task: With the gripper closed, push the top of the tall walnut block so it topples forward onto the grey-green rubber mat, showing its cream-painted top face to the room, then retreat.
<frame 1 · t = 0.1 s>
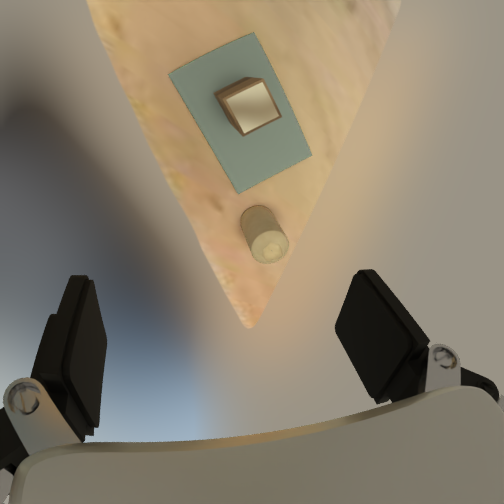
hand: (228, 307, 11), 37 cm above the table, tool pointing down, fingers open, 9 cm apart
candle: (256, 219, 52), on the table
mat: (244, 114, 42), on the table
block: (237, 99, 40), point 1 cm above the table, touching mat
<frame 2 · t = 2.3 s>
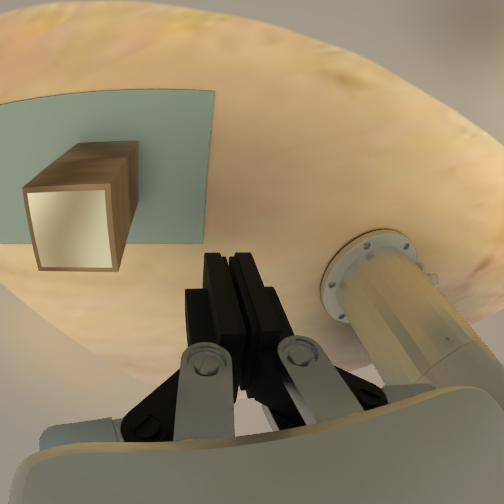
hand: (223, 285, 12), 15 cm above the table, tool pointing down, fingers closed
mat: (81, 170, 22), on the table
block: (108, 172, 23), point 1 cm above the table, touching mat
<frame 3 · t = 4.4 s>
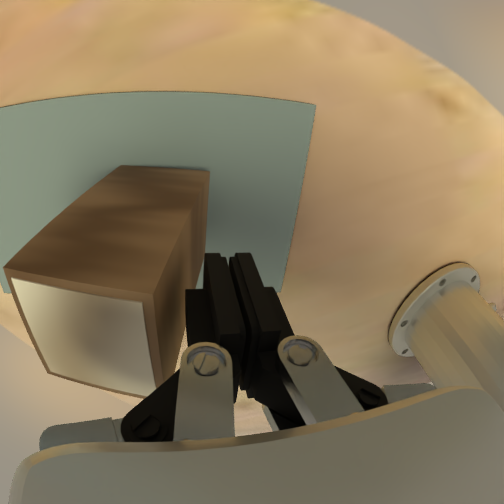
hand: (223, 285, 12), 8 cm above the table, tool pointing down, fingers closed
mat: (123, 202, 17), on the table
block: (163, 210, 17), point 1 cm above the table, tilted 13°, touching mat
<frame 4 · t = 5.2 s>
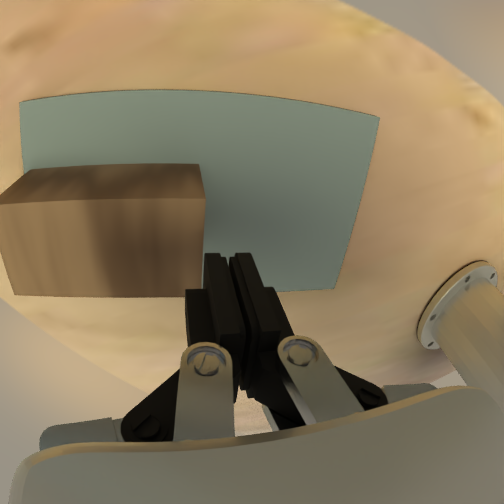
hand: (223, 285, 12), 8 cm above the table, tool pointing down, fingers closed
mat: (196, 201, 18), on the table
block: (199, 225, 16), point 3 cm above the table, tilted 90°, touching mat
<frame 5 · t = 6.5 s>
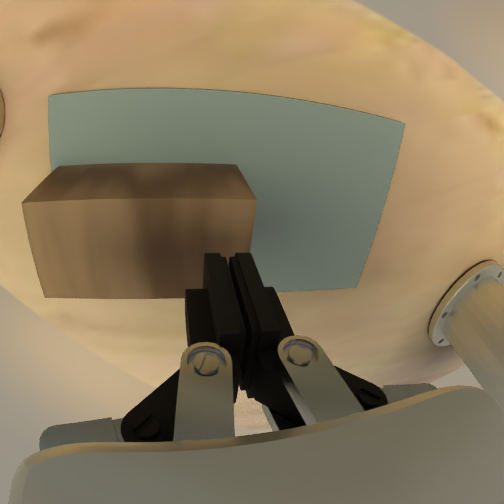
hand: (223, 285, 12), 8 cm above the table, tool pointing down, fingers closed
mat: (230, 201, 19), on the table
block: (239, 226, 16), point 3 cm above the table, tilted 90°, touching mat
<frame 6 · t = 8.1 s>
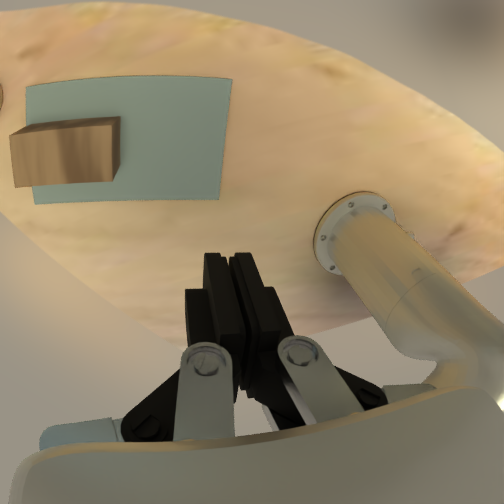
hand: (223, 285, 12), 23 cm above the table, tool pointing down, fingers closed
mat: (121, 139, 28), on the table
block: (116, 146, 26), point 3 cm above the table, tilted 90°, touching mat
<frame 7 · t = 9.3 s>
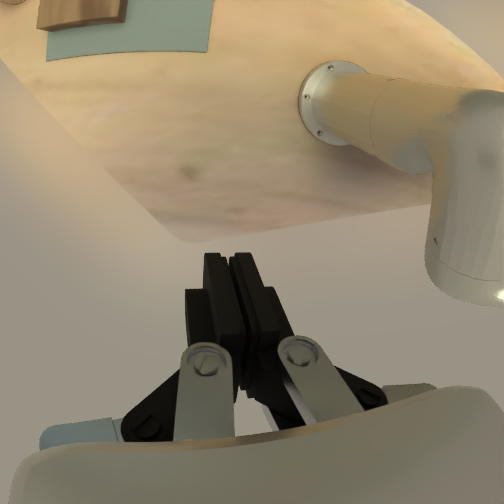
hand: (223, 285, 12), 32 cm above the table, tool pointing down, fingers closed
mat: (128, 5, 27), on the table
block: (124, 0, 25), point 3 cm above the table, tilted 90°, touching mat
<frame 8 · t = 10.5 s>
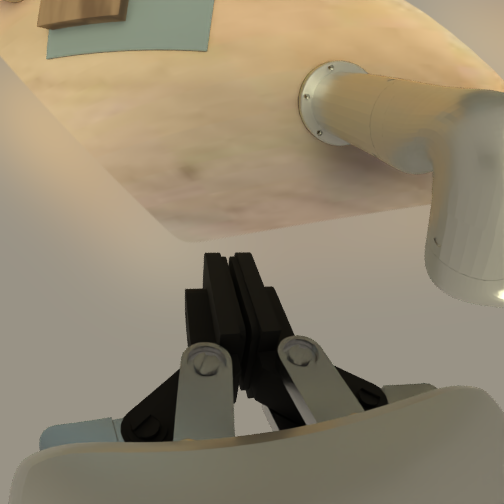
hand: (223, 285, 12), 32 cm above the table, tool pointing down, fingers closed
mat: (129, 4, 27), on the table
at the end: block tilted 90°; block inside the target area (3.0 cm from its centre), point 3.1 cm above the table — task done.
